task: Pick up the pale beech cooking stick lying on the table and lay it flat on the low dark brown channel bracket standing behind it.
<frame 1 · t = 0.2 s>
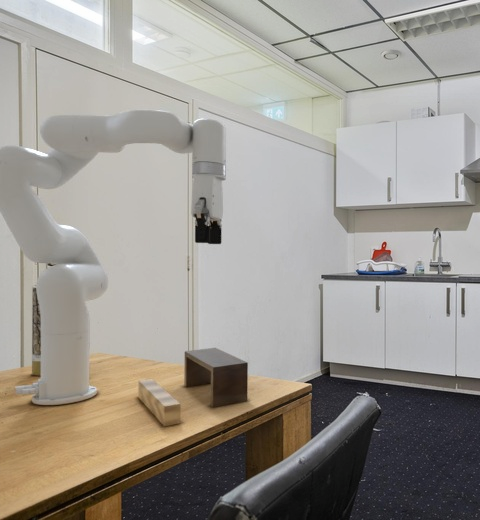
hand: (208, 243, 112), 37 cm above the table, tool pointing down, fingers open, 9 cm apart
dark brown channel bracket: (214, 392, 115), on the table
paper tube: (46, 374, 132), on the table
stick: (157, 409, 102), on the table
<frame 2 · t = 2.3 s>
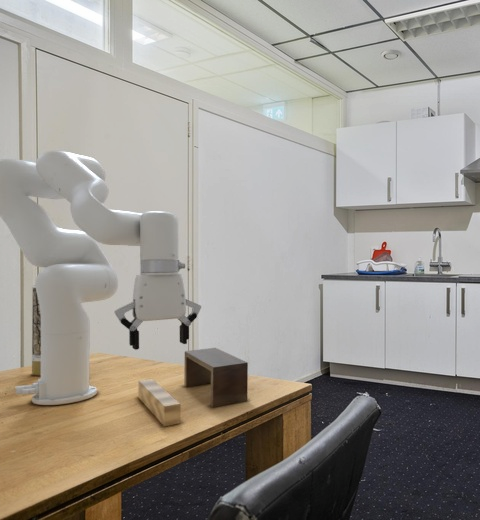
hand: (160, 345, 102), 14 cm above the table, tool pointing down, fingers open, 9 cm apart
nothing on the table moved.
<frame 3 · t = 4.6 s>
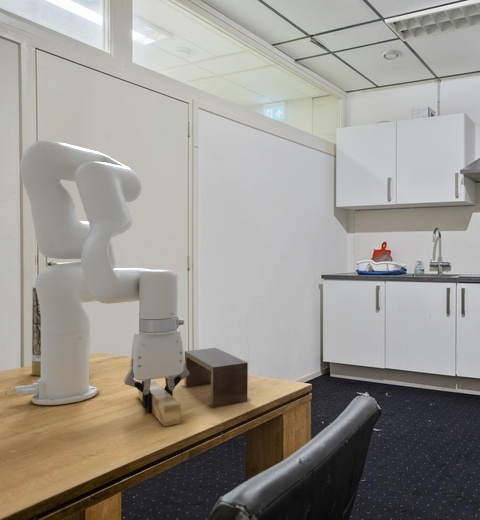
hand: (157, 408, 102), 0 cm above the table, tool pointing down, fingers closed on stick, 3 cm apart
stick: (157, 409, 102), on the table, touching gripper
everything else where it was.
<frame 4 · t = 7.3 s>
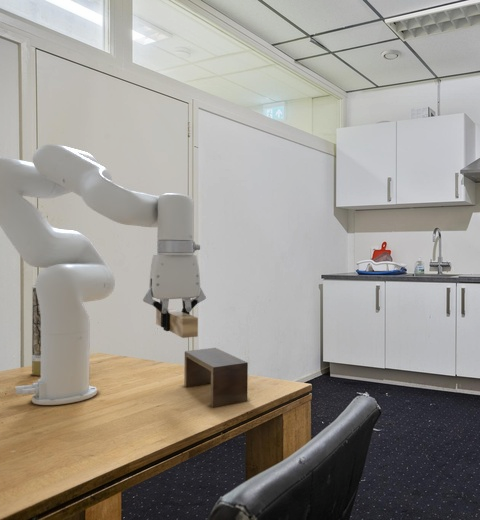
hand: (175, 328, 106), 17 cm above the table, tool pointing down, fingers closed on stick, 3 cm apart
stick: (175, 329, 106), point 17 cm above the table, touching gripper
everything else where it was.
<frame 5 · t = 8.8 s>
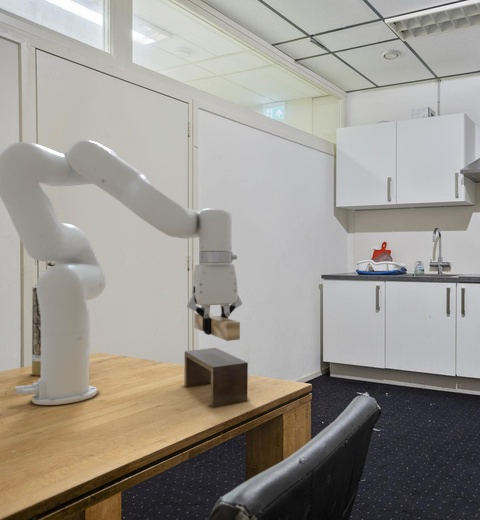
hand: (215, 332, 115), 15 cm above the table, tool pointing down, fingers closed on stick, 3 cm apart
stick: (215, 333, 115), point 15 cm above the table, touching gripper
everything else where it was.
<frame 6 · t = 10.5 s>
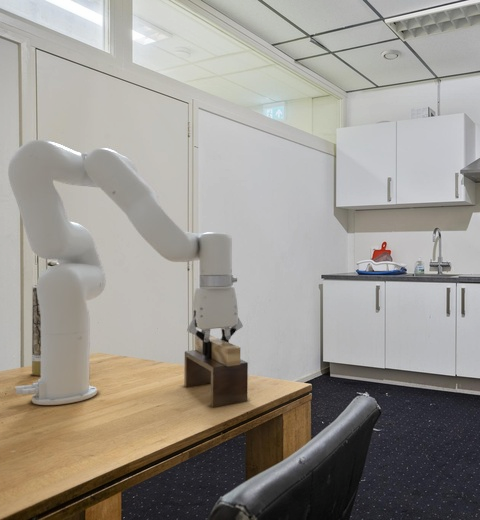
hand: (215, 355, 115), 9 cm above the table, tool pointing down, fingers closed on stick, 3 cm apart
stick: (215, 356, 115), point 9 cm above the table, touching gripper, dark brown channel bracket
everything else where it was.
when the fingers open (9 cm above the table, at t = 10.5 s): stick stays where it is, resting on dark brown channel bracket.
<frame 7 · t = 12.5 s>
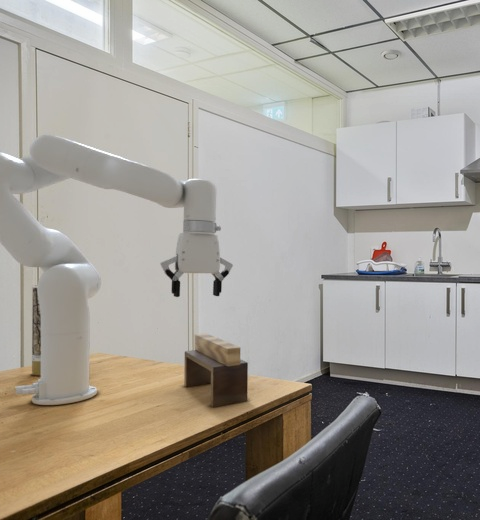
hand: (196, 296, 118), 24 cm above the table, tool pointing down, fingers open, 9 cm apart
stick: (215, 356, 115), point 9 cm above the table, touching dark brown channel bracket
everything else where it was.
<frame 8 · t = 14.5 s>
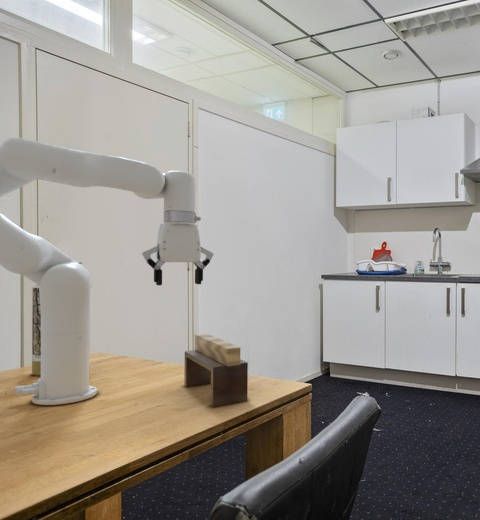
hand: (178, 284, 122), 26 cm above the table, tool pointing down, fingers open, 9 cm apart
nothing on the table moved.
at the end: stick inside the target area on the dark brown channel bracket (0.3 cm from its centre), point 9.0 cm above the dark brown channel bracket's base; the gripper is holding nothing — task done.
